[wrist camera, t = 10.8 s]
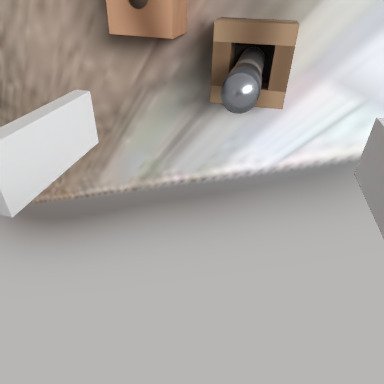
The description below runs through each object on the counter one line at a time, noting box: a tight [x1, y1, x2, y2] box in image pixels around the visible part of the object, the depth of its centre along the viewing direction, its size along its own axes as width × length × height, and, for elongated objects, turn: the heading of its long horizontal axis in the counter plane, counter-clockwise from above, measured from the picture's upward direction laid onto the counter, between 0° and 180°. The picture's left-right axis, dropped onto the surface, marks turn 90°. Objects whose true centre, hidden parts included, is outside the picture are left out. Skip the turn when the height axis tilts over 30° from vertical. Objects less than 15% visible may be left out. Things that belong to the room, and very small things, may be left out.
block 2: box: [210, 17, 299, 109], centre depth 28 cm, size 7×7×4 cm
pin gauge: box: [221, 46, 265, 113], centre depth 24 cm, size 3×3×13 cm
